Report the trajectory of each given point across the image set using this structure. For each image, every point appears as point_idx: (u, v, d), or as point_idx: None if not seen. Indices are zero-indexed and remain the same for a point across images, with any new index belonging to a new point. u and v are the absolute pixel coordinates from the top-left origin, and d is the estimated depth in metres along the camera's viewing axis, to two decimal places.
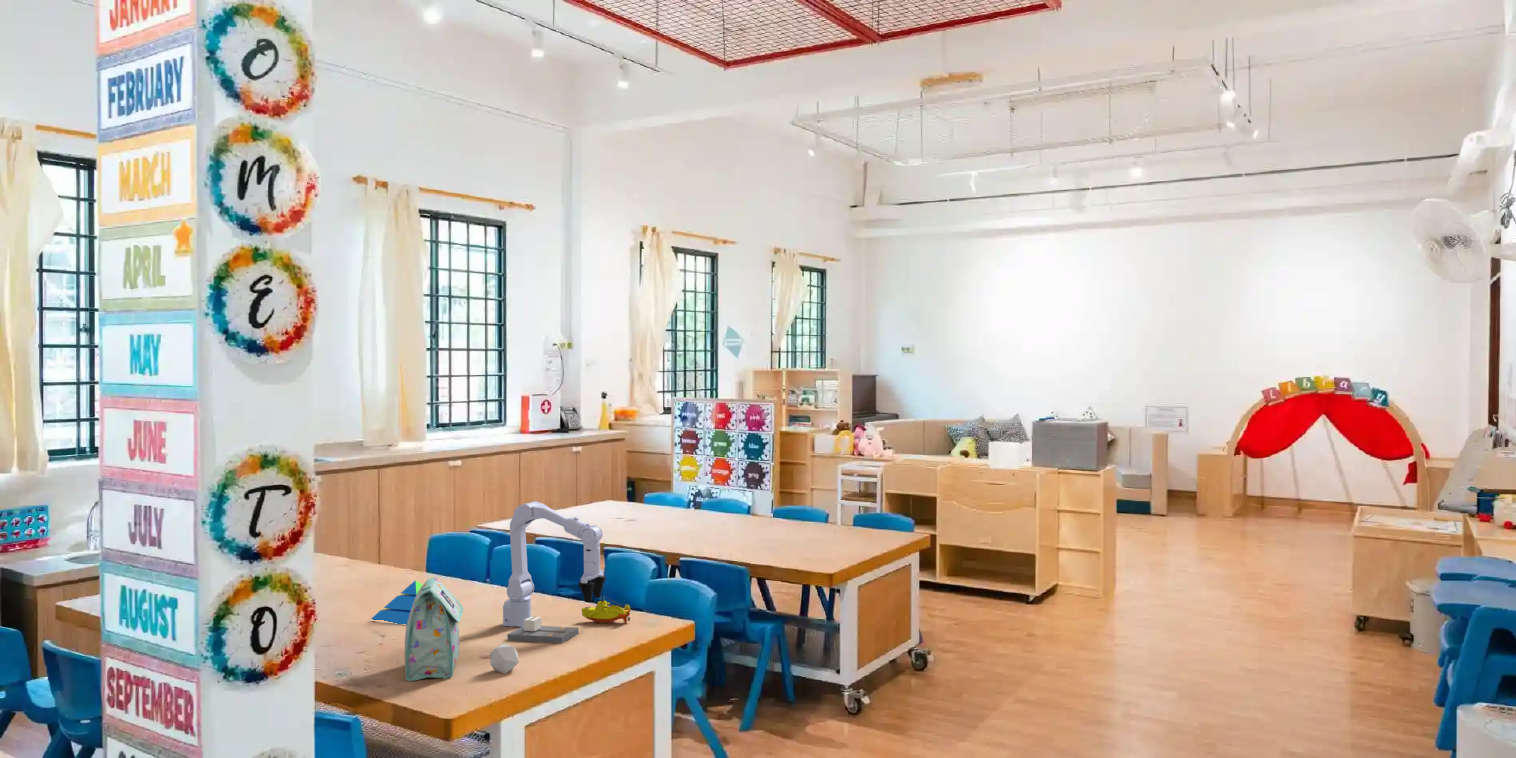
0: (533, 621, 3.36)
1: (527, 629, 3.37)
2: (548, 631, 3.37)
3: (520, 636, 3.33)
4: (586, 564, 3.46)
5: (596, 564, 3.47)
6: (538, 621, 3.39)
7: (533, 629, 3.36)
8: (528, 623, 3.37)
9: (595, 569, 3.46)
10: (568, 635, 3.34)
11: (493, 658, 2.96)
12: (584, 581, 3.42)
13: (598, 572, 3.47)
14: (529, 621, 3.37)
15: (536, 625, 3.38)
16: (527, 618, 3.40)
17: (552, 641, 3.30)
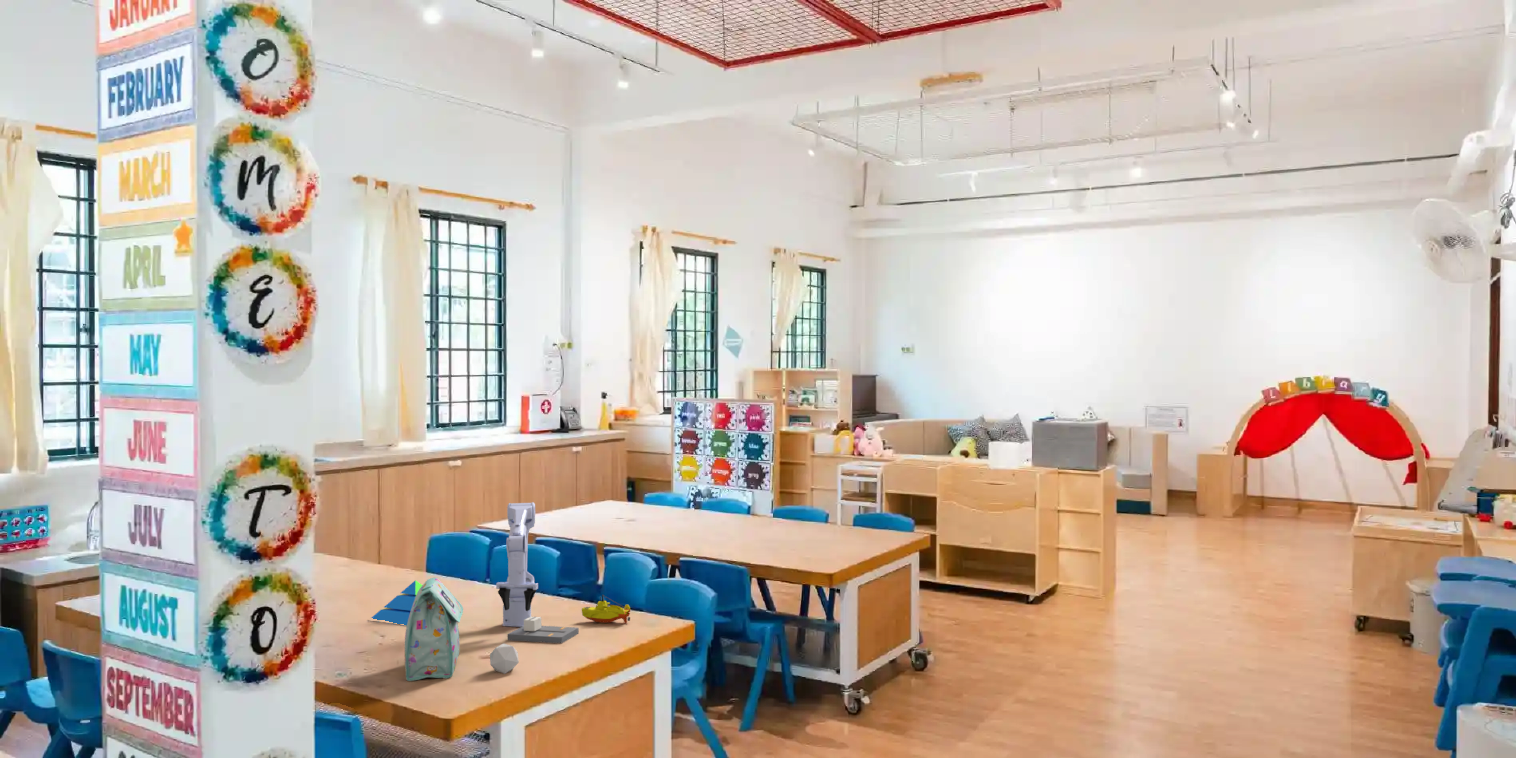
0: (533, 621, 3.36)
1: (527, 629, 3.37)
2: (548, 631, 3.37)
3: (520, 636, 3.33)
4: None
5: (509, 574, 3.40)
6: (538, 621, 3.39)
7: (533, 629, 3.36)
8: (528, 623, 3.37)
9: (509, 579, 3.40)
10: (568, 635, 3.34)
11: (493, 658, 2.96)
12: None
13: (511, 583, 3.39)
14: (529, 621, 3.37)
15: (536, 625, 3.38)
16: (527, 618, 3.40)
17: (552, 641, 3.30)
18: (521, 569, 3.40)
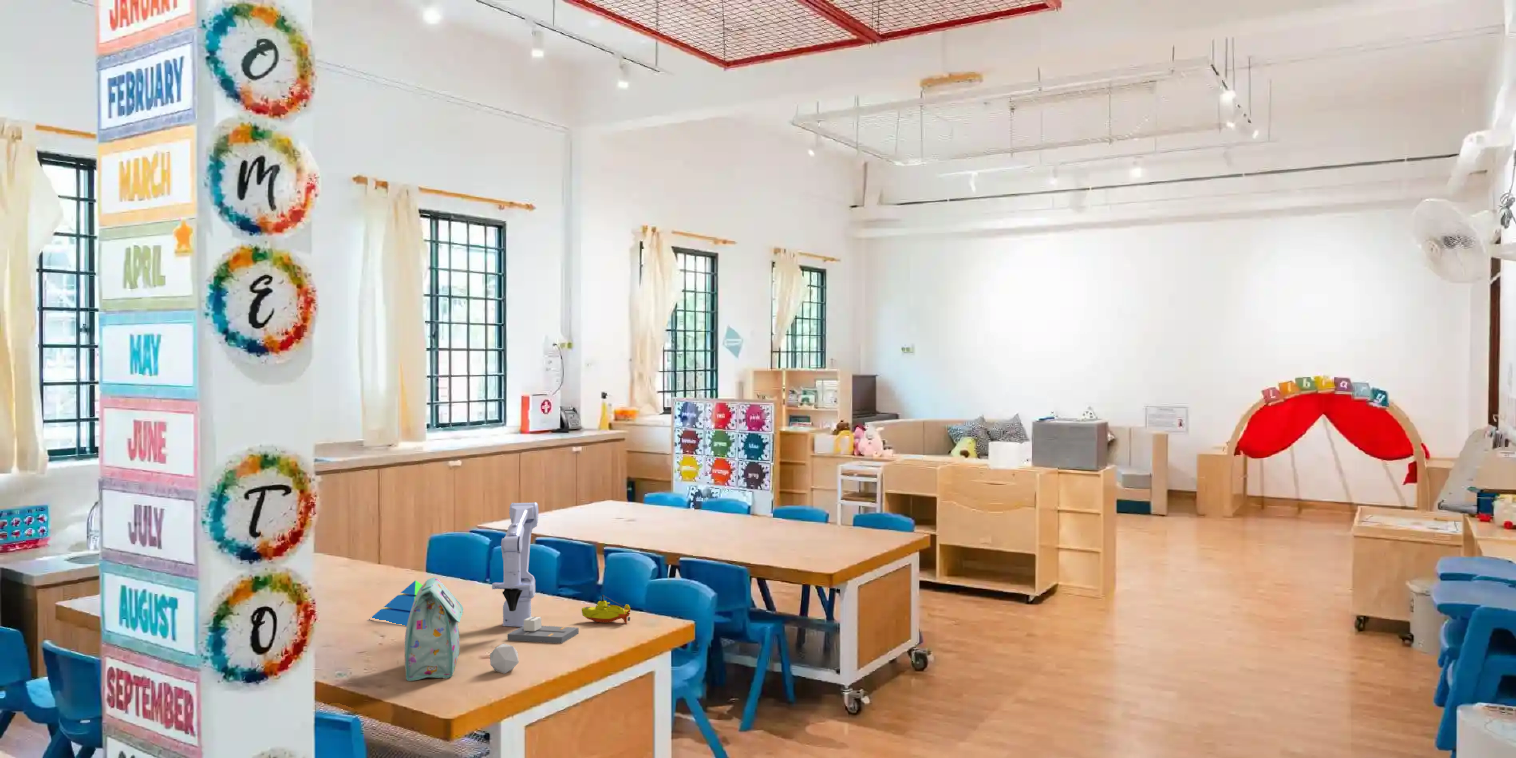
0: (533, 621, 3.36)
1: (527, 629, 3.37)
2: (548, 631, 3.37)
3: (520, 636, 3.33)
4: None
5: (504, 574, 3.39)
6: (538, 621, 3.39)
7: (533, 629, 3.36)
8: (528, 623, 3.37)
9: (504, 579, 3.40)
10: (568, 635, 3.34)
11: (493, 658, 2.96)
12: None
13: (506, 583, 3.39)
14: (529, 621, 3.37)
15: (536, 625, 3.38)
16: (527, 618, 3.40)
17: (552, 641, 3.30)
18: (515, 570, 3.39)
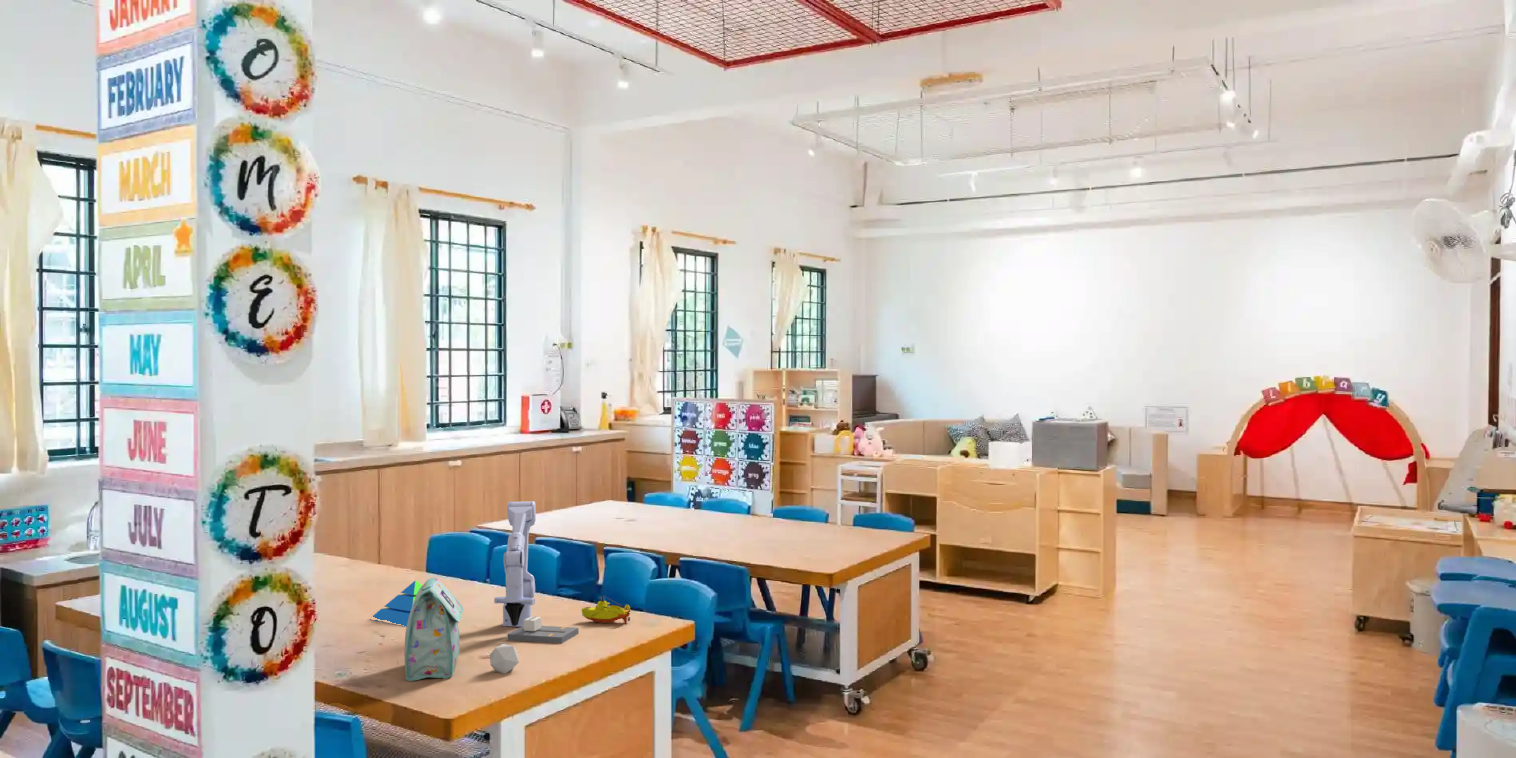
0: (533, 621, 3.36)
1: (527, 629, 3.37)
2: (548, 631, 3.37)
3: (520, 636, 3.33)
4: None
5: (507, 589, 3.39)
6: (538, 621, 3.39)
7: (533, 629, 3.36)
8: (528, 623, 3.37)
9: (506, 594, 3.39)
10: (568, 635, 3.34)
11: (493, 658, 2.96)
12: None
13: (508, 598, 3.38)
14: (529, 621, 3.37)
15: (536, 625, 3.38)
16: (527, 618, 3.40)
17: (552, 641, 3.30)
18: (518, 584, 3.39)
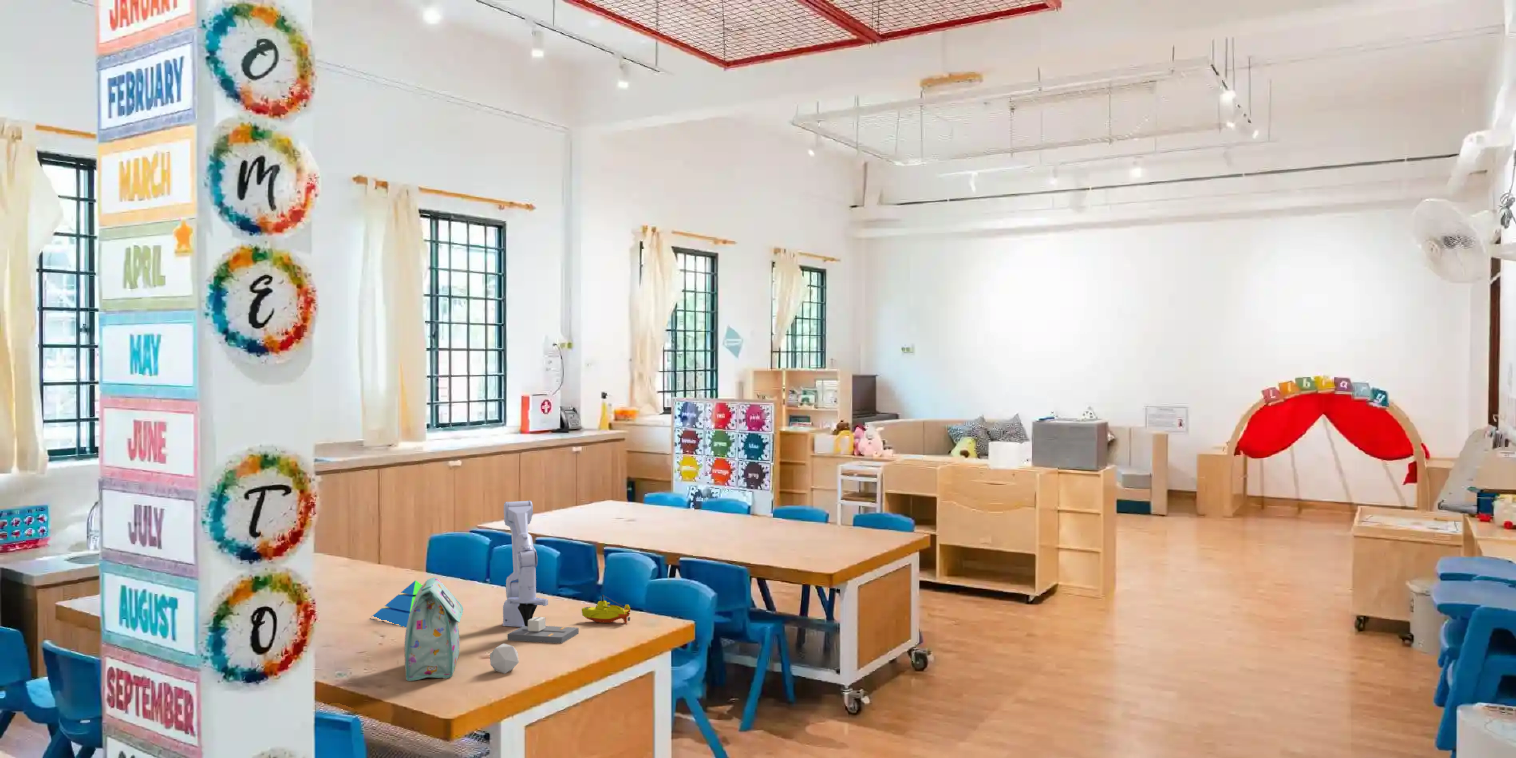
0: (537, 621, 3.36)
1: (531, 629, 3.37)
2: (548, 631, 3.37)
3: (520, 636, 3.33)
4: None
5: (519, 589, 3.38)
6: (542, 621, 3.39)
7: (537, 629, 3.36)
8: (532, 623, 3.36)
9: (519, 594, 3.38)
10: (568, 635, 3.34)
11: (493, 658, 2.96)
12: None
13: (521, 598, 3.37)
14: (533, 621, 3.36)
15: (540, 625, 3.37)
16: None
17: (552, 641, 3.30)
18: (533, 584, 3.38)
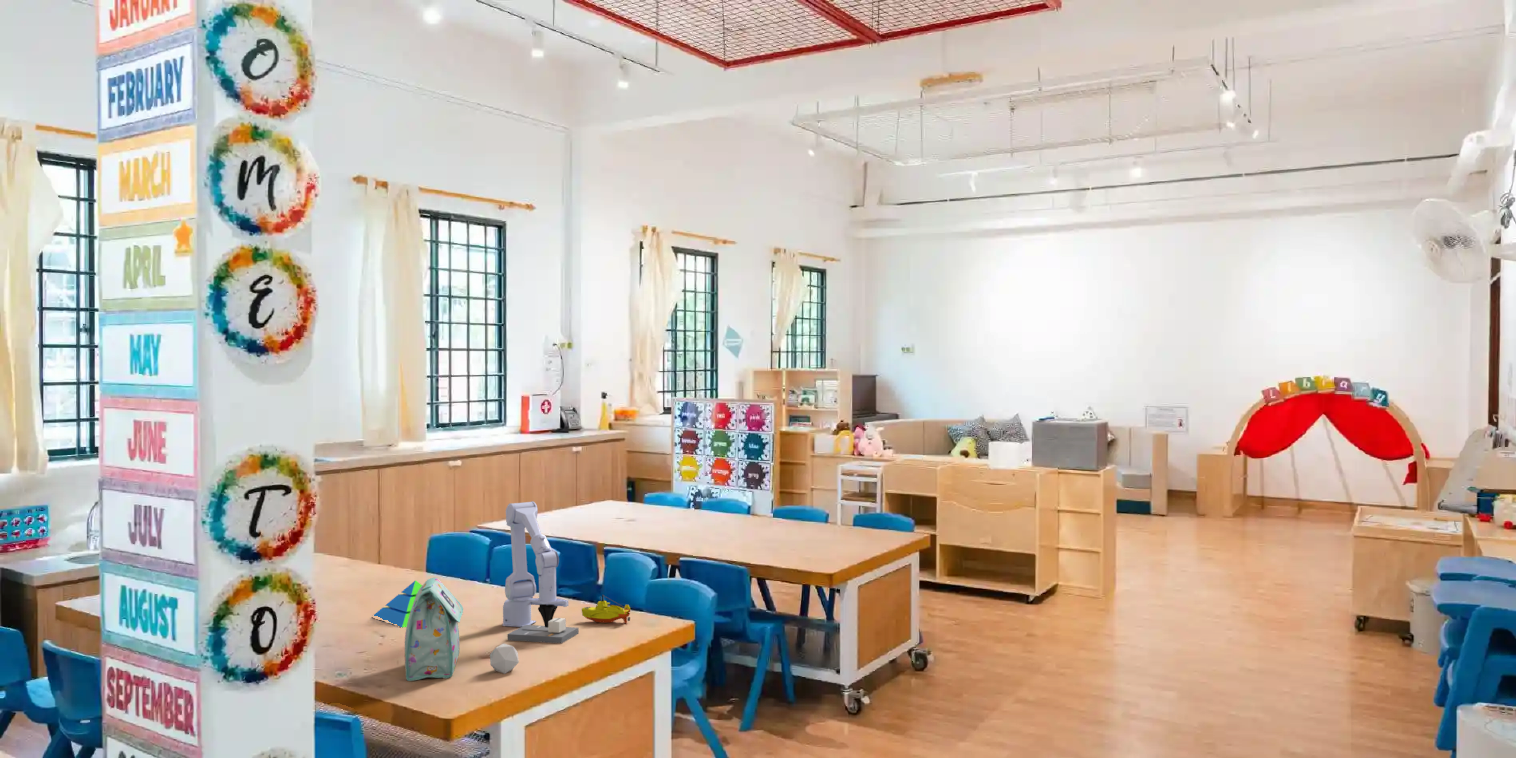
0: (558, 622, 3.34)
1: (552, 630, 3.35)
2: None
3: (520, 636, 3.33)
4: None
5: (540, 590, 3.36)
6: (562, 622, 3.37)
7: (558, 630, 3.34)
8: (553, 624, 3.35)
9: (539, 595, 3.36)
10: (568, 635, 3.34)
11: (493, 658, 2.96)
12: None
13: (542, 599, 3.35)
14: (554, 622, 3.34)
15: (561, 626, 3.35)
16: None
17: (552, 641, 3.30)
18: (555, 585, 3.37)
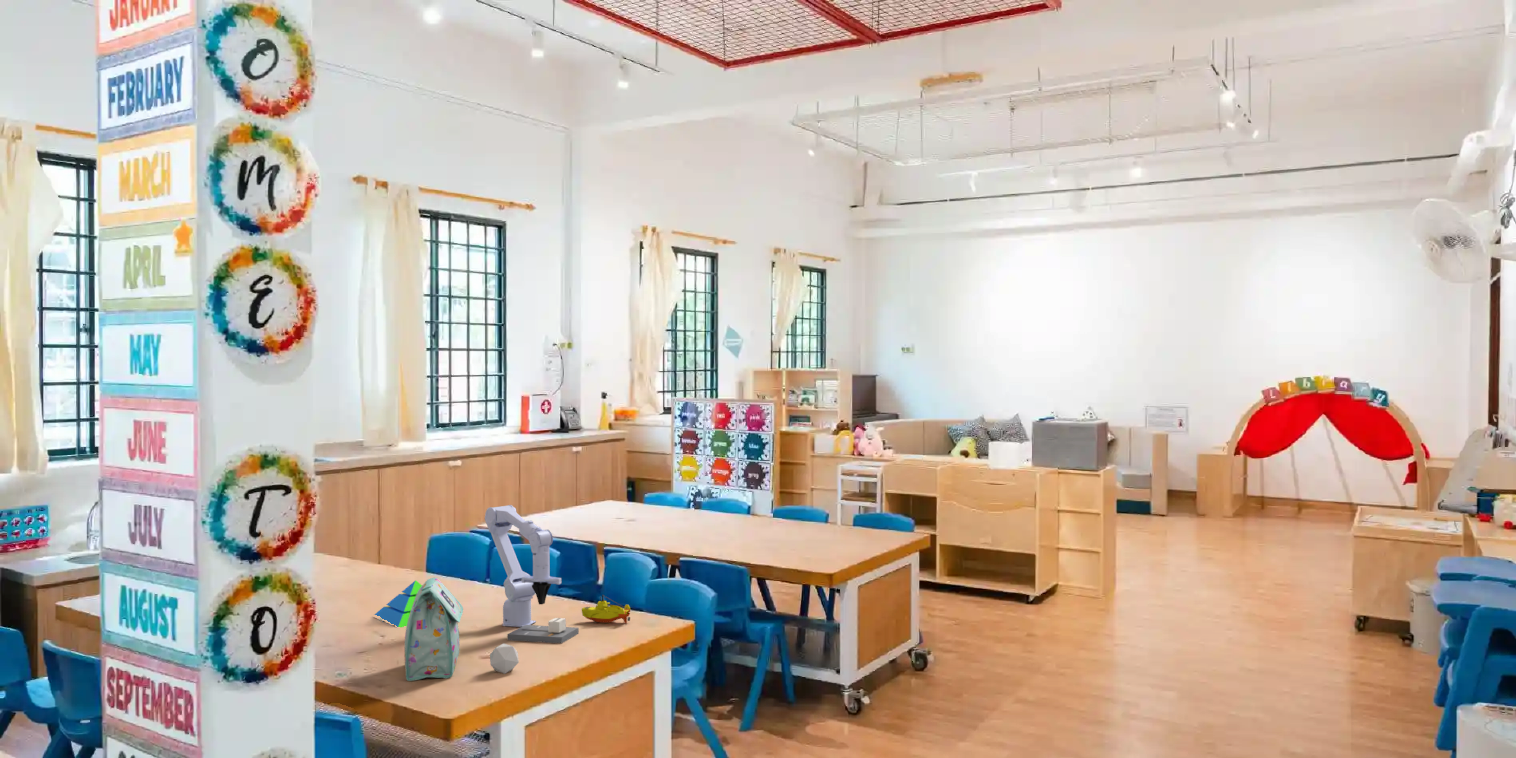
0: (558, 622, 3.34)
1: (552, 630, 3.35)
2: None
3: (520, 636, 3.33)
4: None
5: (534, 568, 3.46)
6: (563, 622, 3.37)
7: (558, 630, 3.34)
8: (553, 624, 3.35)
9: (533, 573, 3.46)
10: (568, 635, 3.34)
11: (493, 658, 2.96)
12: None
13: (535, 577, 3.45)
14: (554, 622, 3.34)
15: (561, 626, 3.35)
16: None
17: (552, 641, 3.30)
18: (549, 563, 3.47)
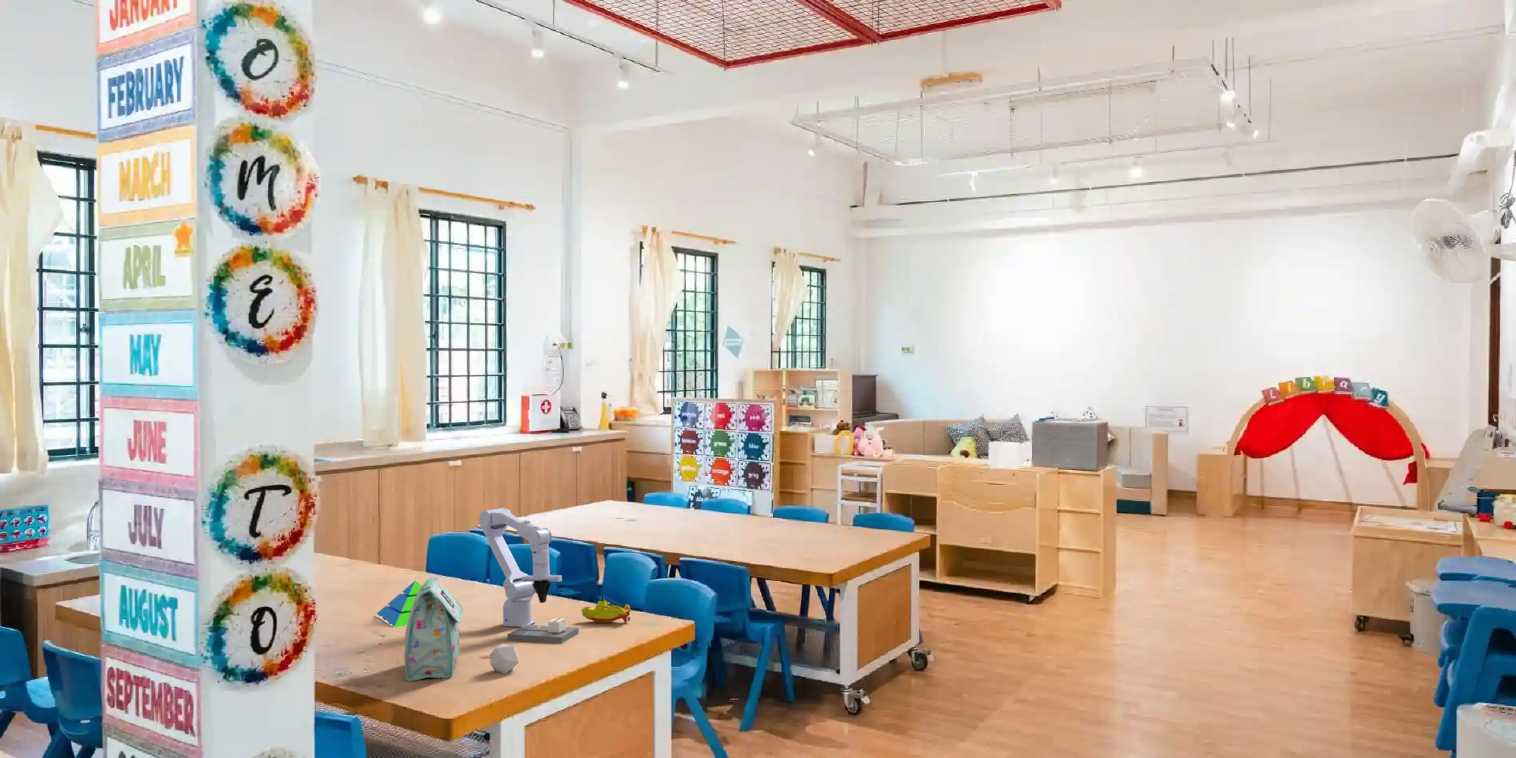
0: (558, 622, 3.34)
1: (552, 630, 3.35)
2: None
3: (520, 636, 3.33)
4: None
5: (534, 567, 3.47)
6: (563, 622, 3.37)
7: (558, 630, 3.34)
8: (553, 624, 3.35)
9: (533, 572, 3.48)
10: (568, 635, 3.34)
11: (493, 658, 2.96)
12: None
13: (536, 575, 3.47)
14: (554, 622, 3.34)
15: (561, 626, 3.35)
16: None
17: (552, 641, 3.30)
18: None
